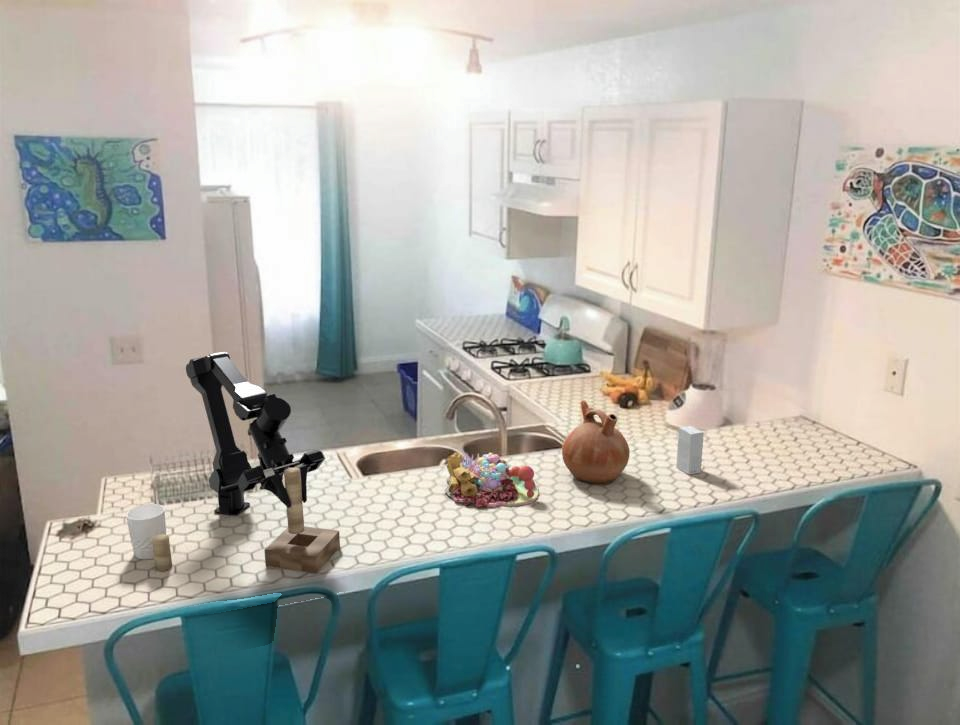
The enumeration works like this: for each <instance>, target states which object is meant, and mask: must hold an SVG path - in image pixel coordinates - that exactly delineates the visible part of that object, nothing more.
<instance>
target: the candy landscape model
mask: <svg viewBox="0 0 960 725" xmlns="http://www.w3.org/2000/svg"><path fill="white" fill-rule="evenodd" d="M446 460H447V461H446V462H447V465H446V468H447V472H448V474H449V477H448V478H446V479H445V481H446V482H447V483H448V485H449V486H447V487H446V488H445V489H444V493H445V494H446V495H447V496H449V497H450V498H452V500H453V501H454V502H456V503H463V504H464V507H466V506H468V505H470V504H474V505H475V508H476V509H477V508H488V507H490V508H491V507H493V508H494V507H497V506H505V507H517V506H524V505H528V504H532V503H534V502H535V500H537V499H538V497H539V492H540V491H539V487H538V484H537V483H536V481H535V480H534V477H535V471H534V470H533V468H532V467H531V466H529V465H523V466H521V467H519V466H516V465H515V466H513V467H511V469H510V465H509V464H508V463H507V461H505V460H504V459H502V458H501V457H500V456H499V455H498V454H496V453H495V454H494V453H493V452H488V454H486V453H485V454H483V455H482V456H480V453H477V456H476V457H475V460H474V454H472V455H471V458H470V457H469V452H467V453H466V455H463V454H462V453H460V452H453V454H451V455H449V456H448V457H447V458H446Z"/></svg>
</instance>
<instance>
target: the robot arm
mask: <svg viewBox="0 0 960 725" xmlns="http://www.w3.org/2000/svg"><path fill="white" fill-rule="evenodd" d="M185 371H186V376H187V377H188V379H189V380H190V383H191V385H192V387H193V388H194V389H195V390H196V391H197V392H199V393H200V395H201V397H202V402H203V405H204V409H205V413H206V417H207V420H208V424H209V429H210V431H211V432H210V433H211V436H212V440H213V443H214V447H215V456H214V458H213V460H212V468H213V471H212V473H211V475H210V476H209V478H208V482H209V487H210V489H211V490H213V491H214V493H215V492H216V493H217V495H218V496H217V501H218V502H217V503H218V507H216V508H215V509H214V510H213V512H214V513H215V514H220V515H221V514H222V515H230V516H238V515H239V514H241V513H242V512H244V511H245V510H246V509H247V508H248V507H249V506H250V505H251V502H248V501H245V492H248V491H252V490H254V489H255V488H256V485H259V484H260V486H259V488H258V489H259V490H261V491H263V490H266V491H269V492H270V493H272V494H273V495H274V496H275V497H276V498H277V499H278V500H279V501H280V502H281V503H283V505H284V506H286V508H287V507H288V508H290V507H291V503H290V499H289V497H288V494H287V492H286V489H285V483H284V482H283V479H284V470H286V469H288V468H299V469H300V473H301V488H302V502H303V503H304V504H305V503H307V502H308V501H307V500H308V494H307V493H308V488H307V486H308V485H307V479H308V478H307V477H308V473H311V472H315V471H316V470H318V469H319V468H320V466H321V465H322V464H323V463H324V461H325V460H326V456H325V455H324V453H323V451H321V450H320V449H313V450H311V451H307V452H304V453H303V455H302V457H300V459H298V460H294V458H295V456H294V453H290V452H289V450H288V448H287V446H286V443H287V441H288V440H287V439H286V437H283V436H282V435H281V433H280V430H282V428H283V427H284V425H285V423H286V422H287V420H288V419H289V417H290V416H291V413H292V409H291V405H290V404H289V402H287V401H286V400H284V399H283V398H281V397H278V396H276V393H271V394H270V393H269V394H268V393H267V392H266V391H265V390H264V389H262V388H261V387H260V386H258V385H255V384H252V383H250V382H249V381H248V380H247V379H246V378H245V376H244V375H243V374H242V373H241V371H240V370H239V369H238V367H237V366H235V363H233V361H232V360H231V357H230V355H229V353H228V352H226V351H219V352H214V353H209V354H207V355H205V356H202V357H197V358H191V359H189V362H188V363H187V364H186V365H185ZM222 387H223V388H224V389H225V391H226V392H227V393H228V394H229V395H230V396H231V397H230V398H232V400H233V402H232V409H233V411H234V414H235V415H236V417H238V419H240V420H241V421H242V422H243V421H248V420H252V419H253V420H252V422H250V423H249V426H248V429H247V435H248V436H251V437H252V439H253V442H254V444H255V446H256V448H257V452H258V454H257V456H258V461H259V465H257V466H256V467H252V466H251V464H250V462H249V459H248V455H247V453H246V452H245V451H244V450H241V449H240V448H239V447H238V446H237V444H236V440H235V437H234V433H233V429H232V426H231V422H230V417H229V414H228V410H227V405H226V402H225V399H224V395H223V391H222Z"/></svg>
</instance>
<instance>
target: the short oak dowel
mask: <svg viewBox="0 0 960 725" xmlns="http://www.w3.org/2000/svg"><path fill="white" fill-rule="evenodd" d="M152 545H153V553H154V558H153V559H154V569H155V571H156V572H161V573H163V572H167V571H169V570H171V569H172V568H173V561H172V551H171V542H170V536H169V535H168V534H166V535H165V534H162V535H157V536H155V537H153V538H152Z"/></svg>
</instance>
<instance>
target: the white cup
mask: <svg viewBox="0 0 960 725" xmlns="http://www.w3.org/2000/svg"><path fill="white" fill-rule="evenodd" d="M125 516H126V521H127V522H126V523H127V526H128V528H127V529H128V532H129V538H130V543H131V546H132V551H133V556H134V557H135V558H136V559H138V560H139V559H140V560H153V559H154V553H153V545H152V538H153V537H155V536H157V535H162V534H165V535H167V526H166V524H167V523H166V522H167V521H166V508H165V507H164V506H163V505H162V504H158V503H145V504H141V505H138V506H135V507H133V508H130V509H129V510H128V511H126V514H125Z"/></svg>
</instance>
